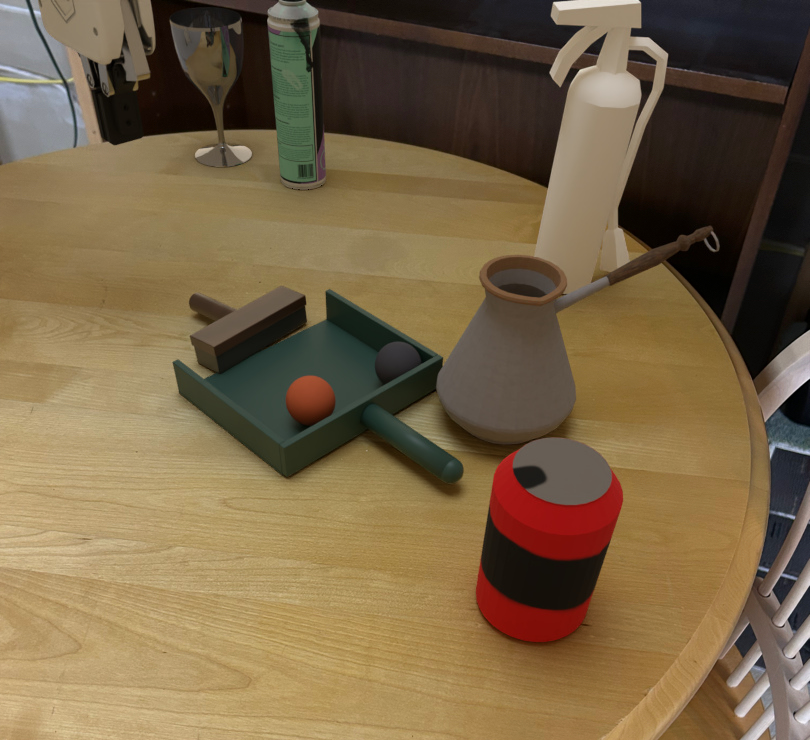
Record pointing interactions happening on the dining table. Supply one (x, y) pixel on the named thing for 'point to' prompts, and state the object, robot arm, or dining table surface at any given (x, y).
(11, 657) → the dining table surface
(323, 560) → the dining table surface
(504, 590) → the soda can
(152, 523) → the dining table surface
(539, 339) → the coffee pot
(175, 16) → the wine glass
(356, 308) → the dustpan
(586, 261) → the fire extinguisher
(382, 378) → the grey ball
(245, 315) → the brush
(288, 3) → the spray can
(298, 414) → the terracotta ball
